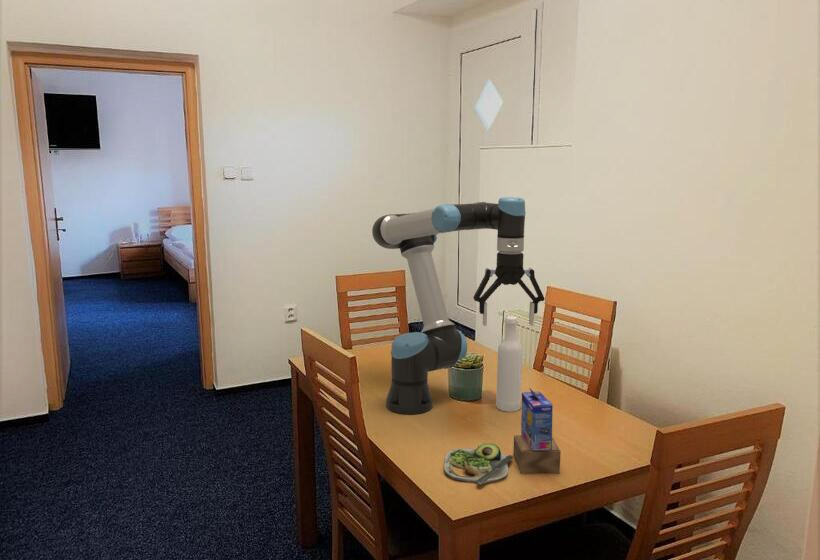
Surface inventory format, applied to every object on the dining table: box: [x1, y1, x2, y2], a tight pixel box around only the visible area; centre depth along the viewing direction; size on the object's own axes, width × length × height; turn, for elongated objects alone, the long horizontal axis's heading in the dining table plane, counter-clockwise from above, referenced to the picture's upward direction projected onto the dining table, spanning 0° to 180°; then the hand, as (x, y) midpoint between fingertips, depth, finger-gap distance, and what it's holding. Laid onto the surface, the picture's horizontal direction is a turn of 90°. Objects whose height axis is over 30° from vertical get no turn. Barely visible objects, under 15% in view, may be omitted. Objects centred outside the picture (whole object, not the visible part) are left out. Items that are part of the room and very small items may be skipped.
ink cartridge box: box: [520, 387, 554, 450], centre depth 166 cm, size 10×6×14 cm, turn 9°
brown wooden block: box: [512, 434, 561, 475], centre depth 168 cm, size 10×10×6 cm
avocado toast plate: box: [443, 442, 514, 486], centre depth 165 cm, size 19×18×5 cm
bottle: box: [495, 315, 524, 413], centre depth 206 cm, size 8×8×30 cm
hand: (507, 324), depth 187 cm, fingers open, 13 cm apart
